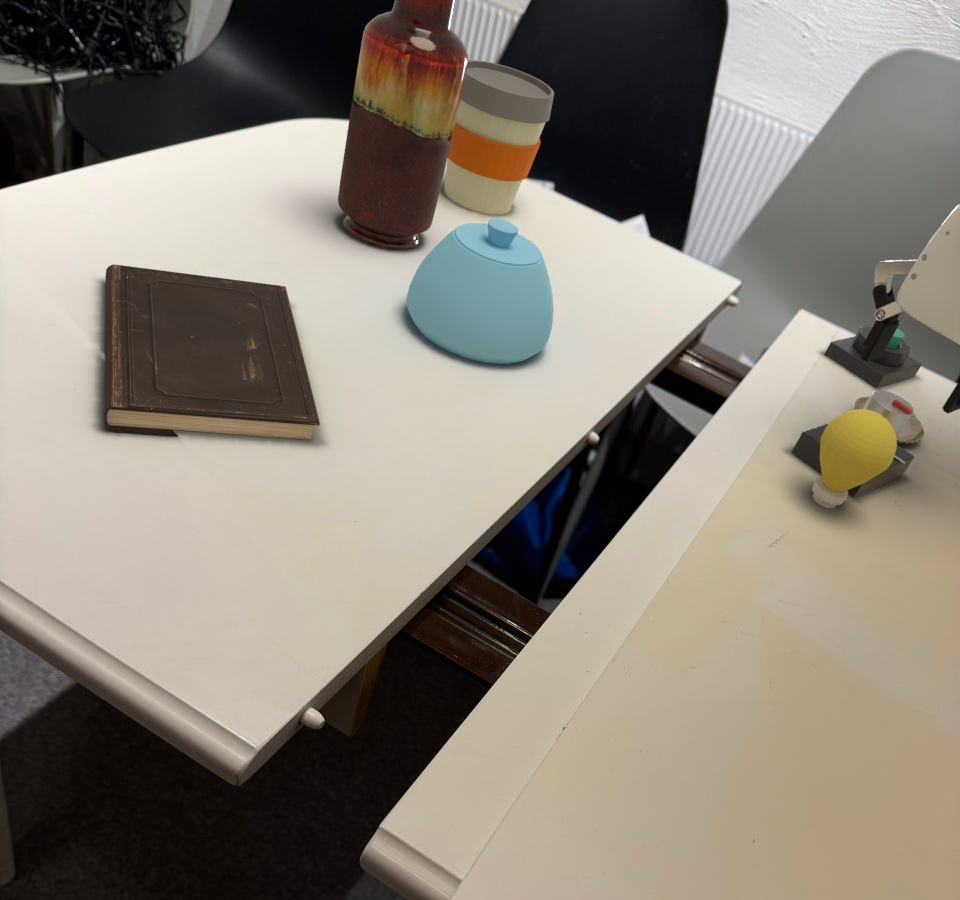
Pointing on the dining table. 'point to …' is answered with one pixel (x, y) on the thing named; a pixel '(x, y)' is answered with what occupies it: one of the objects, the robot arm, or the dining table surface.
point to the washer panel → (810, 454)
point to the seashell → (910, 431)
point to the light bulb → (852, 454)
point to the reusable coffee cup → (495, 136)
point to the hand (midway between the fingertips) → (909, 383)
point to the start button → (896, 339)
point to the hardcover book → (202, 356)
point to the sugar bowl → (484, 294)
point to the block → (875, 371)
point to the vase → (401, 122)
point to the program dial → (890, 409)
